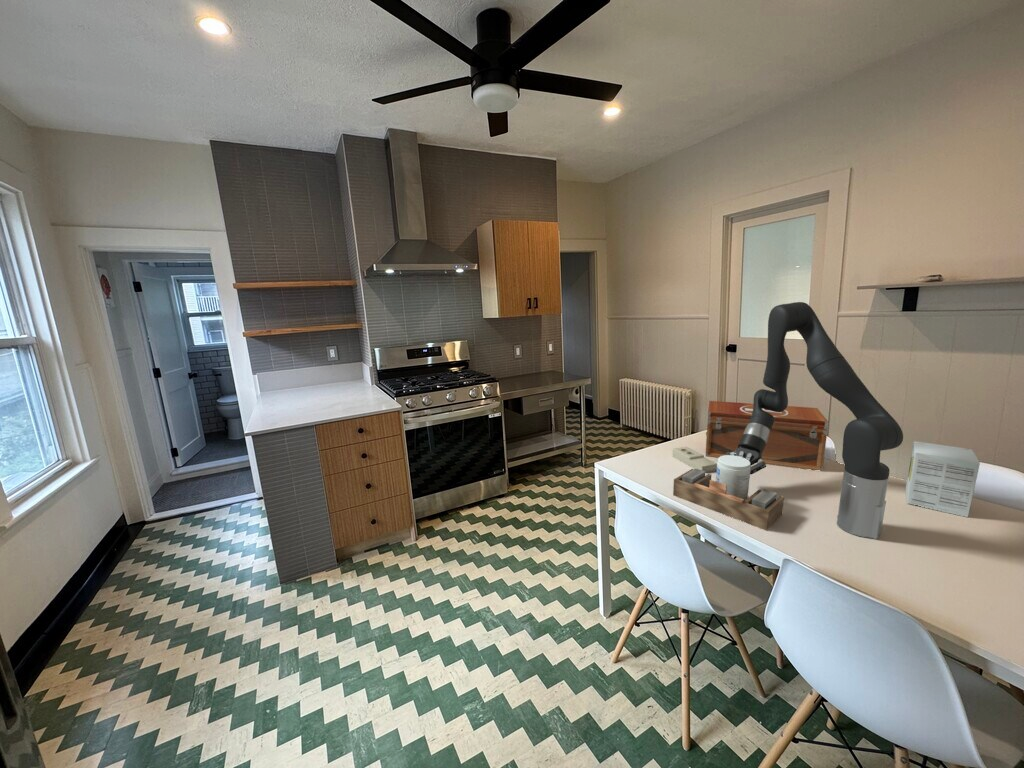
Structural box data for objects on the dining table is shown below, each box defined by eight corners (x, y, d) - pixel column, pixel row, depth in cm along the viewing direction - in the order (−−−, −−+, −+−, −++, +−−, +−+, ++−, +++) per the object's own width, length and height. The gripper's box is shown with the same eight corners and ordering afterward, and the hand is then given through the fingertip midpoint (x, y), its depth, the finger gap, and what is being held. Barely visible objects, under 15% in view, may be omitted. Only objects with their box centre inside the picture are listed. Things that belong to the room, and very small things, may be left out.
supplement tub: (708, 497, 132) (710, 457, 129) (729, 491, 135) (732, 452, 132) (732, 511, 123) (735, 468, 120) (754, 505, 126) (758, 463, 123)
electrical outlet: (702, 464, 150) (672, 448, 167) (701, 474, 151) (671, 457, 168) (717, 461, 152) (686, 446, 169) (717, 471, 153) (686, 454, 170)
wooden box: (823, 472, 147) (830, 422, 143) (704, 456, 166) (707, 412, 162) (813, 453, 165) (818, 408, 160) (706, 441, 184) (708, 400, 180)
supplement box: (904, 488, 132) (912, 440, 129) (962, 500, 123) (973, 448, 120) (905, 504, 123) (915, 452, 119) (969, 518, 114) (981, 462, 110)
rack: (782, 514, 120) (785, 485, 118) (766, 530, 113) (769, 499, 111) (691, 483, 143) (692, 459, 141) (673, 495, 135) (674, 469, 133)
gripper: (731, 429, 139) (713, 470, 135) (773, 438, 129) (755, 483, 124) (737, 439, 144) (719, 480, 139) (777, 448, 133) (760, 493, 129)
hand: (736, 481), depth 132 cm, fingers closed
